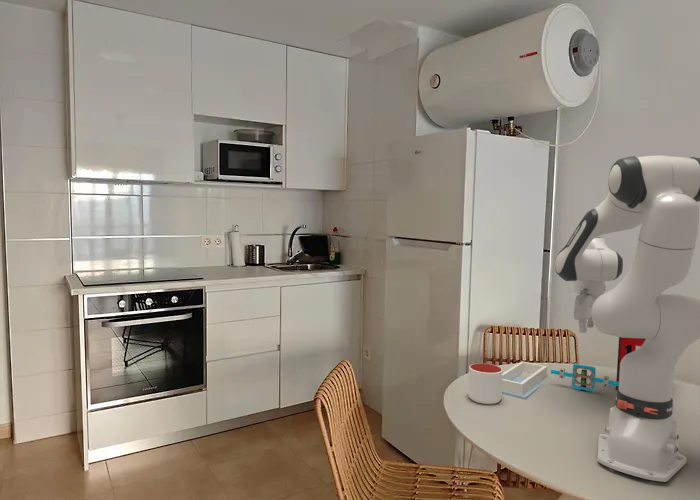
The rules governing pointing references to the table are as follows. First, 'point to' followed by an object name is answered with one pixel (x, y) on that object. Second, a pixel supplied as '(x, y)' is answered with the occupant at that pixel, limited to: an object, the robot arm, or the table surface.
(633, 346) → the cleaning product box
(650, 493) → the table surface
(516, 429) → the table surface
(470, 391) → the cup
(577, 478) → the table surface
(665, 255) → the robot arm
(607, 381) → the gear mechanism
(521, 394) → the white blue rectangular tray
